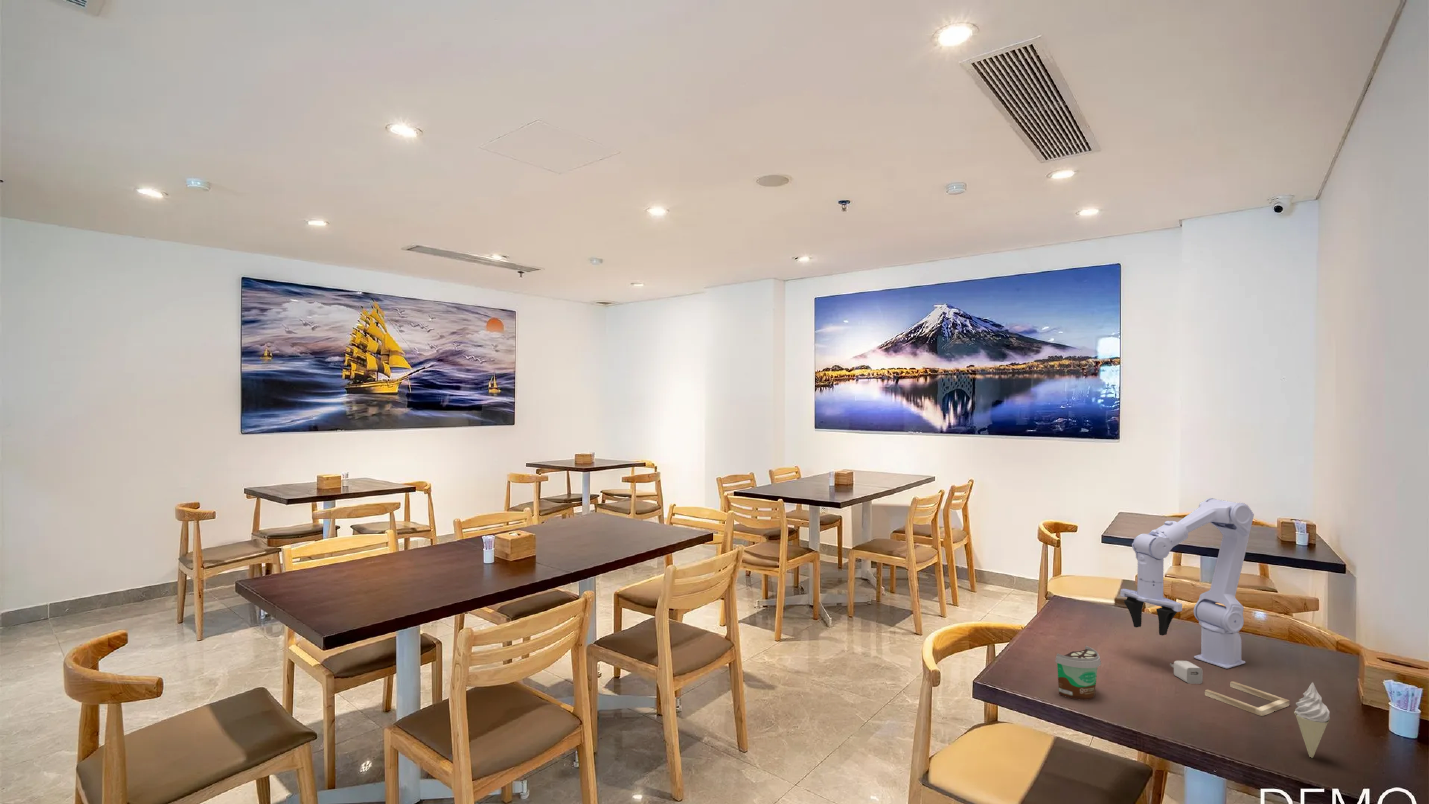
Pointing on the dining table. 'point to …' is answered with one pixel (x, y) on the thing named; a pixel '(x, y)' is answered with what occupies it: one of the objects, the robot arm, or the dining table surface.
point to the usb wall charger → (1187, 672)
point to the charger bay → (1261, 711)
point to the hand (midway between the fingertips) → (1149, 630)
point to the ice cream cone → (1312, 718)
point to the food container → (1078, 673)
